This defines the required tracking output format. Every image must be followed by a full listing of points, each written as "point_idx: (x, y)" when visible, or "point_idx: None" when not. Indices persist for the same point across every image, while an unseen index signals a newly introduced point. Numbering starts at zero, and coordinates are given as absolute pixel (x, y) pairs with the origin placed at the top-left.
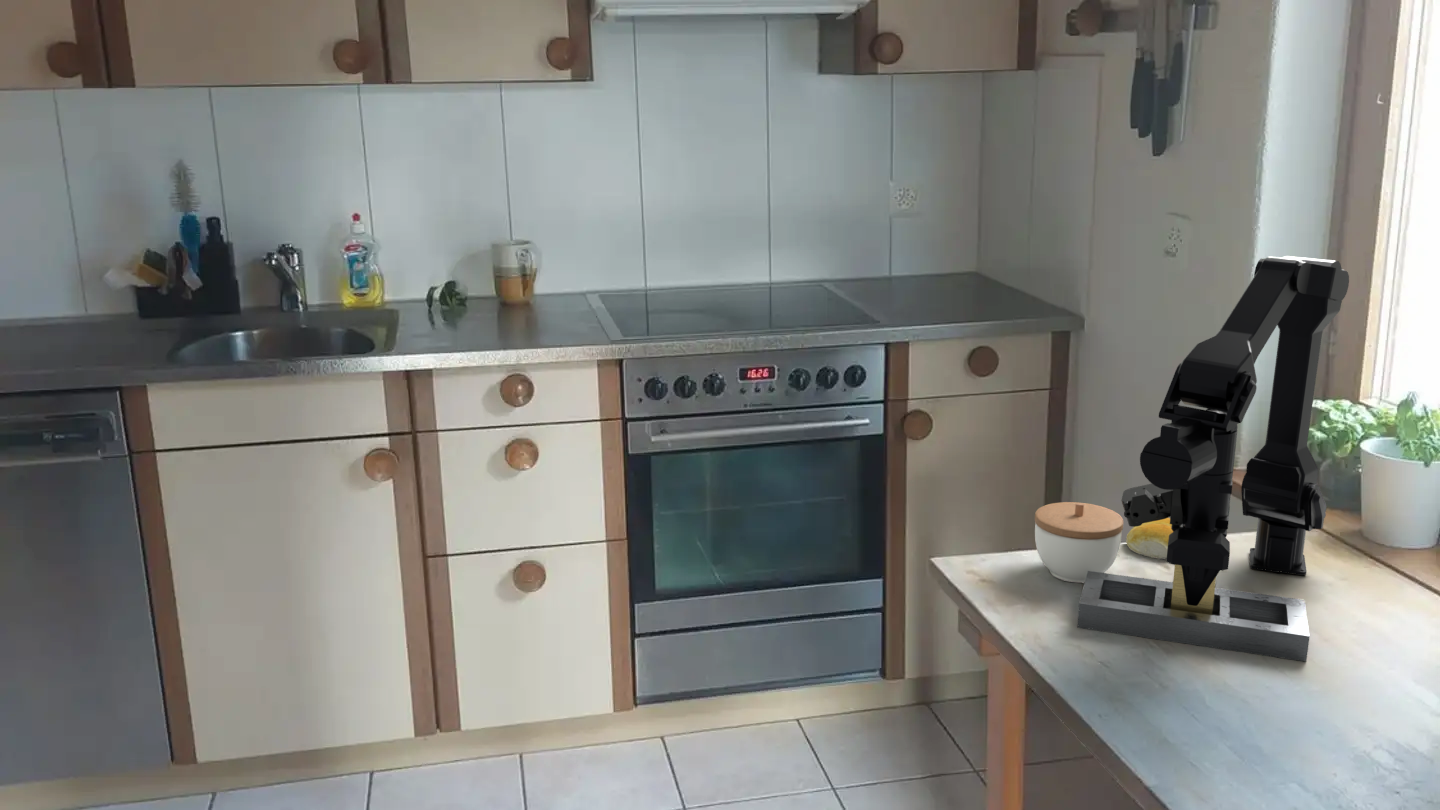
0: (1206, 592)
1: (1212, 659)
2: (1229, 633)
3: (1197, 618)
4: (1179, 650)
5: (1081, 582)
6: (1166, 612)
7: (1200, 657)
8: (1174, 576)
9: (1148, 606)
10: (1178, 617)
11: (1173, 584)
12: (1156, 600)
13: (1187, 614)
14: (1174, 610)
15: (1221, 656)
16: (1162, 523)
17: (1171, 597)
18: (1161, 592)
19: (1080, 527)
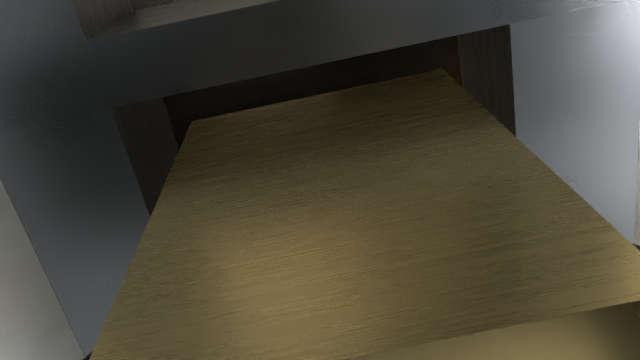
0: None
1: (24, 331)
2: None
3: (98, 323)
4: (4, 197)
5: None
6: (53, 147)
7: (4, 289)
8: (123, 291)
9: (61, 3)
10: (28, 233)
11: (146, 237)
12: (224, 27)
13: (116, 265)
14: (121, 185)
15: (82, 351)
16: None
17: (489, 57)
18: (402, 20)
19: None
